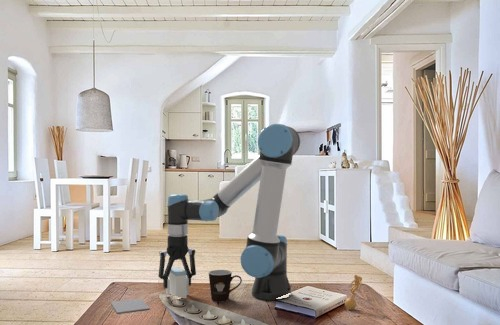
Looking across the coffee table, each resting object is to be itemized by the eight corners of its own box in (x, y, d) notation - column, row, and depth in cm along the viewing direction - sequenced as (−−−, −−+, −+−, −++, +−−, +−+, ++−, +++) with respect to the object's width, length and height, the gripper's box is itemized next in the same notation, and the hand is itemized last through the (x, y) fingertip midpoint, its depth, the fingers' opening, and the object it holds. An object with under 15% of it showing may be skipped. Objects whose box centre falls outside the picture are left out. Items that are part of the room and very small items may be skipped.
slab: (179, 292, 182) (179, 267, 182) (186, 298, 174) (186, 271, 174) (169, 293, 180) (169, 268, 180) (175, 299, 172) (176, 272, 172)
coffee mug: (204, 301, 171) (204, 273, 171) (214, 295, 179) (214, 268, 179) (233, 304, 166) (233, 276, 166) (242, 298, 174) (242, 271, 174)
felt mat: (141, 299, 173) (141, 298, 173) (149, 309, 161) (149, 308, 161) (110, 303, 168) (110, 302, 168) (117, 313, 156) (117, 312, 156)
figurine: (341, 306, 165) (341, 272, 165) (357, 305, 166) (357, 271, 166) (348, 313, 157) (348, 277, 157) (366, 313, 157) (366, 277, 157)
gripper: (198, 232, 185) (198, 290, 185) (149, 235, 176) (149, 295, 176) (205, 234, 178) (205, 294, 178) (154, 238, 170) (154, 301, 170)
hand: (177, 295), depth 177 cm, fingers open, 7 cm apart
